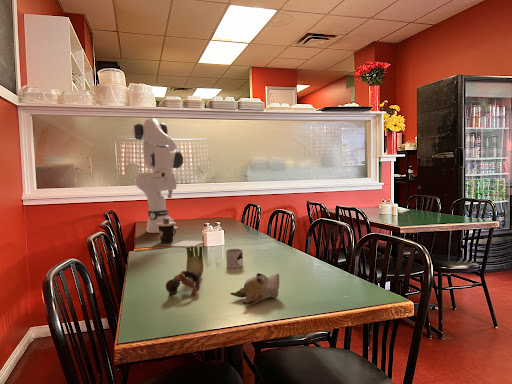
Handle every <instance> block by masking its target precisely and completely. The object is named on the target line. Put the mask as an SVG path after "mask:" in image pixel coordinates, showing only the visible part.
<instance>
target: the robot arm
mask: <svg viewBox="0 0 512 384" xmlns="http://www.w3.org/2000/svg"><path fill="white" fill-rule="evenodd" d="M168 134H169V129H168V126H167V125H166V123H164V122H159V121H158V120H157V119H156V118H154V117H153V118H151V117H150V118H148V119H145V121H144V122H143V123H136V124H134V125H133V129H132V135H133V136H134V139H135V140H136V141H137V140H138V141H142V140H143V142H142V145H143V146H142V153H143V159H144V165H145V167H146V168H148V169H151V170H152V171H153V172H144V173H139V174H137V176H136V177H135V182H134V183H135V186H136V187H137V189H139V190H140V191H141V192H142V193H144V195H145V196H146V199H147V203H148V204H147V205H148V206H147V207H148V211H147V214H148V215H147V216H148V218H147V223H146V224H147V225H146V229H145V231H146V232H147V233H150V234H151V233H152V234H156V233H157V234H160V233H159V227H158V226H157V223H162V222H163V219H164V218H169V222H175V220H174V219H173V218H172V217H170V216H169V215H168V213H170V211H171V210H170V209H167V204H166V197H165V196H164V195H162V192H163V191H164V192H165V191H167V192H168V194H167V198H168V199H172V196H173V195H172V194H173V190H177V181H176V180H177V179H176V177H175V174H174V173H173V169H179V168H181V167H182V166H183V164H184V156H183V154H182V153H181V151H180V150H179V149H178V147H177V145H176V144H175V142H174V140H173V139H172V137H171V136H170V135H168ZM178 227H179V226H176V225H174V228H175V230H177V229H178Z"/></svg>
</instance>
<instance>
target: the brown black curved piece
mask: <svg viewBox="0 0 512 384" xmlns="http://www.w3.org/2000/svg"><path fill="white" fill-rule="evenodd" d="M191 277H192V280H190V279H189V278H191ZM181 284H182V285H184V286H186V287H188V288H190V289H192V290H191V294H190V295H191V296H192V297H195V296H196V295H197V293H198V292H199V291H200V284H201V278H200V277H198V276H197V275H195V274H193V273H191V272H189V271H187V270H182V271H181V272H180V273H179V274H176V275H175V276H174V277H173V279H169V280H168V281H167V282H166V283H165V290H166V291H167V292H168V294H169V296H176V295H177V291H178V288H179V287H180V285H181Z"/></svg>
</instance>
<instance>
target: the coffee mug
mask: <svg viewBox="0 0 512 384" xmlns="http://www.w3.org/2000/svg"><path fill="white" fill-rule="evenodd" d="M174 226H175V225H172V226H158V227H159V233H158V234H159V237H160V243H161V244H170V243H173V242H174V236H175V234H176V230H177V229H175V228H174Z"/></svg>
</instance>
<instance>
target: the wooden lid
mask: <svg viewBox="0 0 512 384" xmlns="http://www.w3.org/2000/svg"><path fill="white" fill-rule="evenodd" d="M172 225H174V226H176V225H177V222H175V221H174V222H169V218H164V219H163V222H162V223H157V226H172Z"/></svg>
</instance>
